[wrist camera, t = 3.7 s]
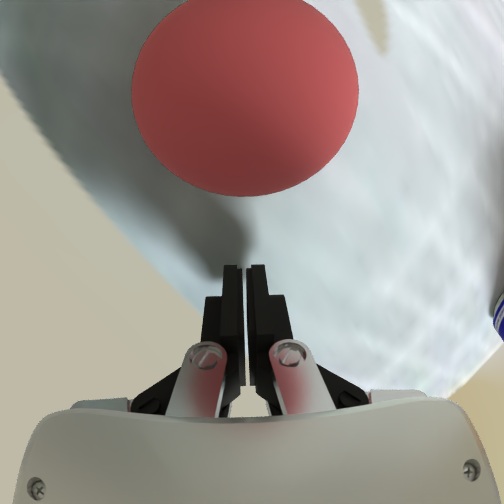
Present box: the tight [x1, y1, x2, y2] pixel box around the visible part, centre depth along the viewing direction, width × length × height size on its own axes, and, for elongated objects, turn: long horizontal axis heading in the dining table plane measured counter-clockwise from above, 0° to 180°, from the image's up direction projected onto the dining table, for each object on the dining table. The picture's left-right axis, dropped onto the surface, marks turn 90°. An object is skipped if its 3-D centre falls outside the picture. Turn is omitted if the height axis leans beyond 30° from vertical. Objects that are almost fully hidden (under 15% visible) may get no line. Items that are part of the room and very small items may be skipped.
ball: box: [131, 0, 359, 197], centre depth 7 cm, size 6×6×6 cm
